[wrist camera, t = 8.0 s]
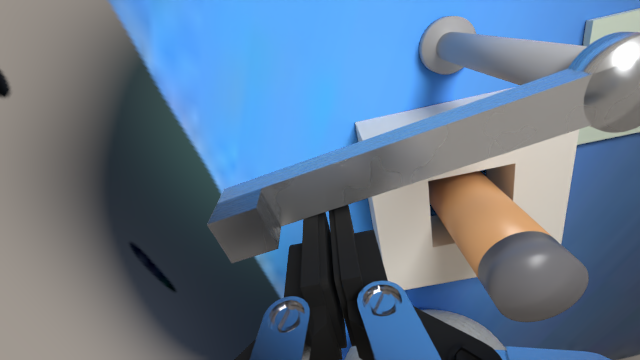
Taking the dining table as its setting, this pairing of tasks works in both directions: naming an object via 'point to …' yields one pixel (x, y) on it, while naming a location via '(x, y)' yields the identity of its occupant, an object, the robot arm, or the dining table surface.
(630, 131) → the pad
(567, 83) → the grey ball-jointed lever
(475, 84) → the dining table surface
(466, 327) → the cereal bowl
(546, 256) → the plug
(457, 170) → the socket block
